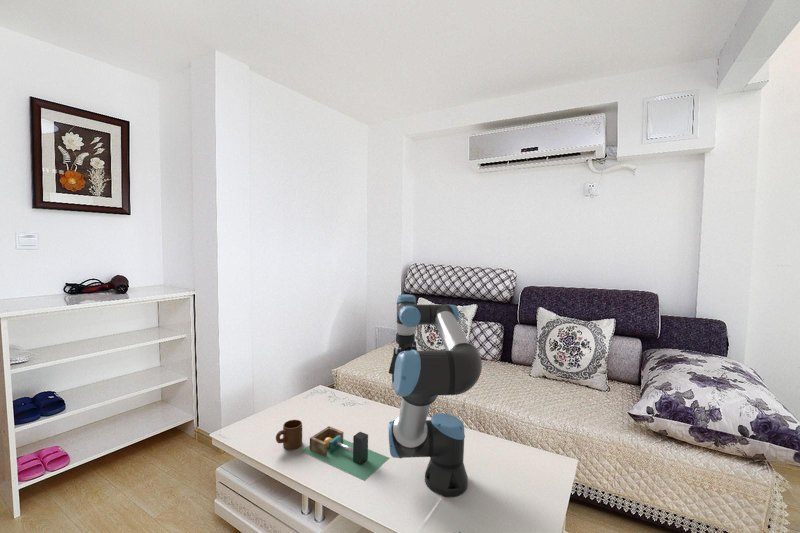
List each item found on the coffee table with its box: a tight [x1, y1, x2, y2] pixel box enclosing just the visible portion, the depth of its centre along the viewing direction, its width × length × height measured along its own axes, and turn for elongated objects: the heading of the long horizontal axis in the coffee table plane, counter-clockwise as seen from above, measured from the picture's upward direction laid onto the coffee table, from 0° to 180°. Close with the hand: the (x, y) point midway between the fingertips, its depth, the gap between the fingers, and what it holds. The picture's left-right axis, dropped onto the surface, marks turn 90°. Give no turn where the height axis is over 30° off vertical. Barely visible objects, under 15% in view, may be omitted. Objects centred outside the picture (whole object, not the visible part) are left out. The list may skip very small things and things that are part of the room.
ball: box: [324, 437, 332, 448], centre depth 146 cm, size 4×4×4 cm
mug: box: [275, 419, 303, 451], centre depth 145 cm, size 12×8×9 cm, turn 148°
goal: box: [309, 426, 344, 457], centre depth 146 cm, size 8×11×5 cm
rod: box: [329, 431, 369, 465], centre depth 140 cm, size 16×6×10 cm, turn 58°
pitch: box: [301, 438, 390, 482], centre depth 142 cm, size 32×16×1 cm, turn 58°
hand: (404, 384), depth 146 cm, fingers open, 13 cm apart
